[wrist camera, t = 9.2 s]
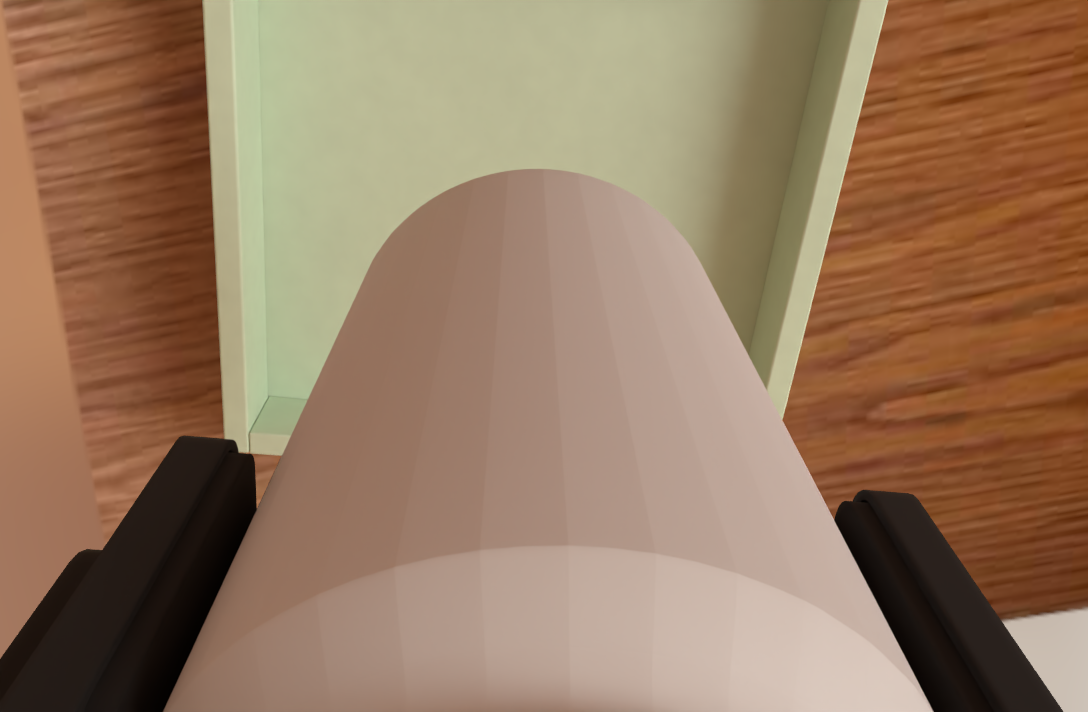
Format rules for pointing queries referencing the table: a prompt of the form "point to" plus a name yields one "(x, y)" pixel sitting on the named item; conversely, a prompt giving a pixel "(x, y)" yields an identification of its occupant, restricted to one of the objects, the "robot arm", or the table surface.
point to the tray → (515, 151)
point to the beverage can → (542, 493)
